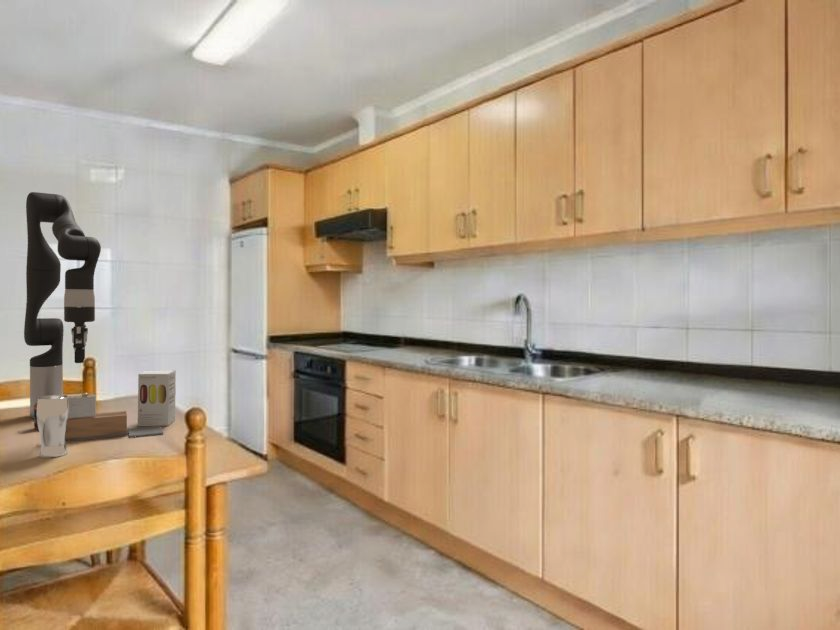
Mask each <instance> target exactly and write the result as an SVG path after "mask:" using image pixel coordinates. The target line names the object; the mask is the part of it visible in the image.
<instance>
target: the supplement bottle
mask: <svg viewBox="0 0 840 630" xmlns="http://www.w3.org/2000/svg"><path fill="white" fill-rule="evenodd" d="M38 398H39V397H38ZM38 398H37V401H38ZM33 426H34V427H33V428H34V429H35V430H39V429H38V424H37V403H36V404H35V405H34V418H33Z"/></svg>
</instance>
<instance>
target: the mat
mask: <svg viewBox="0 0 840 630" xmlns="http://www.w3.org/2000/svg"><path fill="white" fill-rule="evenodd" d="M127 432H128V433H129V434H128V438H129V437H133V438H136V437H135V436H143V437H146V436H145V435H153V436H161V434H163V435H164V431H163V428H162V426H161V425H160V426H138V427H131V428H127Z"/></svg>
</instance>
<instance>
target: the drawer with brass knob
mask: <svg viewBox="0 0 840 630" xmlns="http://www.w3.org/2000/svg"><path fill="white" fill-rule="evenodd" d="M96 397H97V396H96V394H95V393H91V394H89V392H82V393H81V394H79V395H78V394H77V395H76V394H75V395H68V401H69V419H78V418H90V417H95V415H96V413H97V411H96V410H97V409H96V407H97V406H96V404H97V403H96V400H97V399H96Z"/></svg>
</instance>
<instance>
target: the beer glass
mask: <svg viewBox="0 0 840 630" xmlns="http://www.w3.org/2000/svg"><path fill="white" fill-rule="evenodd" d="M68 396H69V395H67V394H63V395H48V396H42V397H39V398H38V401H37V424H38V429H37V430H38V431H39V432H38V433H39V436H40V437H39V439H40V449H39V454H38V457H39V458H42V459H52V458H51V457H53V458H58V457H62V456H65V455H67V454H68V448H67V442H66V441H65V439H66V431H67V427H68V421H69V401H68Z"/></svg>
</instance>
